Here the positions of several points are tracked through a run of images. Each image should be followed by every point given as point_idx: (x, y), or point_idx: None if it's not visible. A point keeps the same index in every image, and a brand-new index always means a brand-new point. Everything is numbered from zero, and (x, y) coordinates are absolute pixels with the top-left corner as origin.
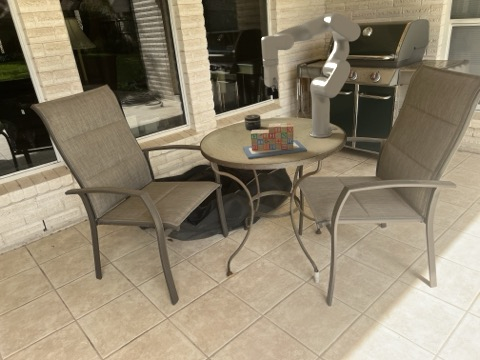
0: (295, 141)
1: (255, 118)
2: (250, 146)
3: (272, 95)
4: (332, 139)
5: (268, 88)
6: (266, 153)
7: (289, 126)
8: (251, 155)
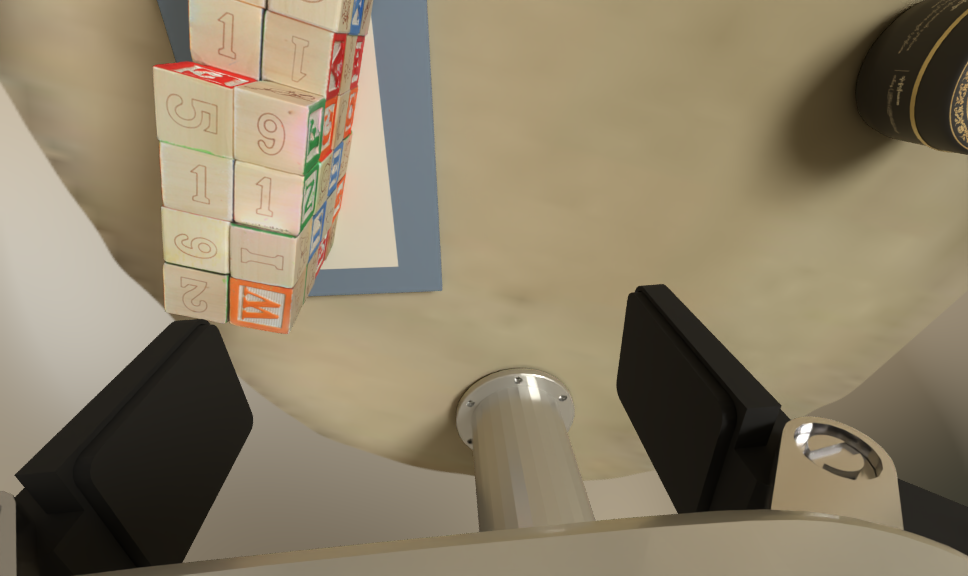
0: (415, 275)
1: (947, 91)
2: None
3: (125, 377)
4: (416, 435)
5: (713, 443)
6: (187, 7)
7: (163, 284)
8: None
